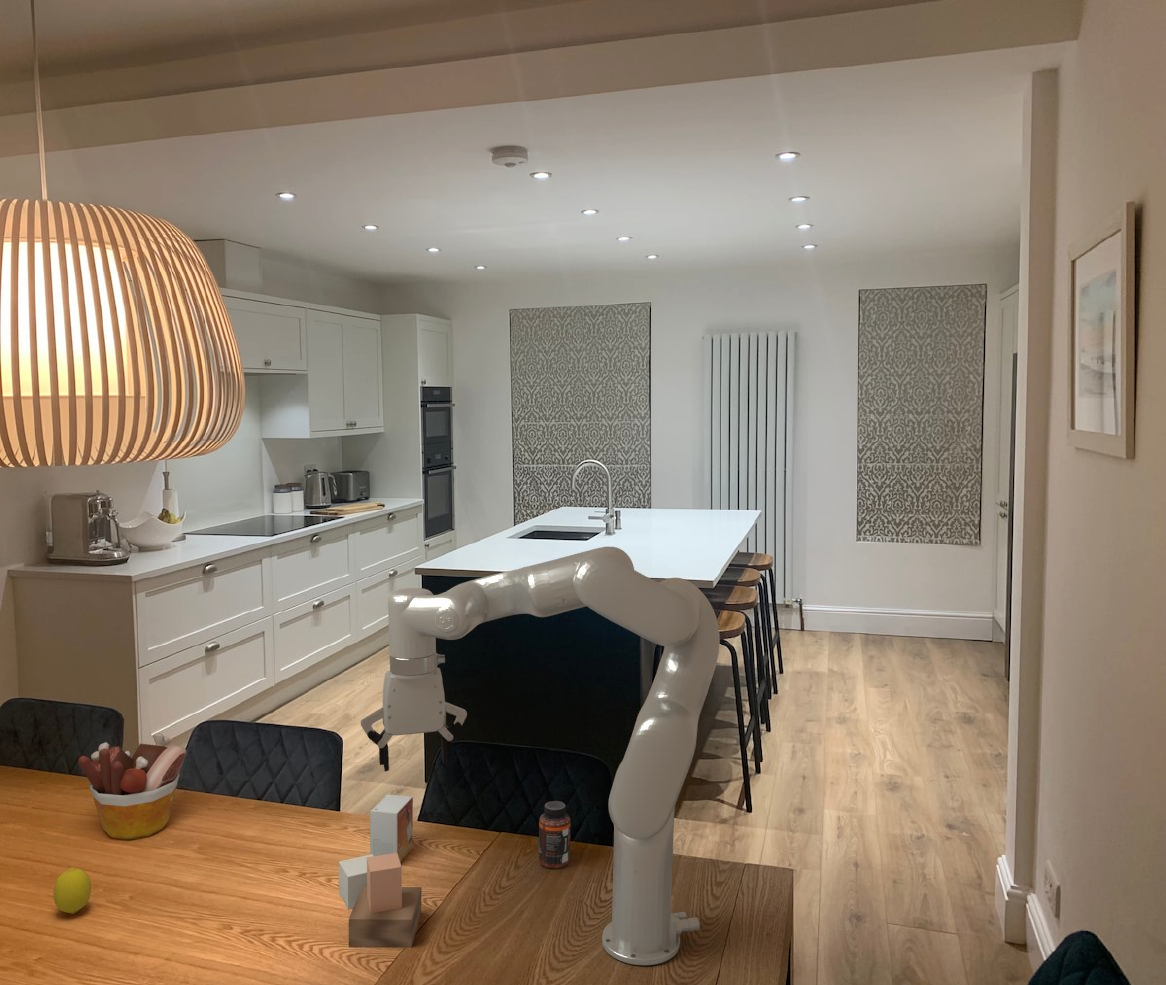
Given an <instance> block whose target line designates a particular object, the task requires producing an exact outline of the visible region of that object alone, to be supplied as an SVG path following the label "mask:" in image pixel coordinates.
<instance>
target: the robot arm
mask: <svg viewBox="0 0 1166 985" xmlns="http://www.w3.org/2000/svg"><path fill="white" fill-rule="evenodd" d="M584 607H587V608H589V609H590V610H592V611H593V612H596V613H597V615H600V616H602V617H604V618H605V619H606V620H607V619H608V620H609V621H610V622H612V623H615V624H616V625H619V626H620V627H623V629H626V630H628V631H630V632H632V633H634V634H636V635H638V636H639V637H641V638H643V639H645V640H647V641H648V642H651V643H653V644H656V645H658V646H663V647H664V648H663V653H662V655H661V657H660V661H659V664H658V667H657V670H656V674H655V677H654V680H653V681H652V685H651V687H650V689H649V691H648V695H647V697H646V700H645V701H644V703H643V705H642V707H641V709H640V710H639V713H638V714H637V717H636V721H635V723H634V727H633V730H632V734H631V737H630V739H629V743H628V745H627V748H626V751H625V753H624V755H623V756H624V757H623V759H622V761H621V762H620V763H619V765H618V768H617V770H616V773H615V776H614V780H613V783H612V786H611V789H610V793H609V798H608V813H609V817H610V819H611V822H612V823H613V826H614V827H613V828H614V831H613V860H612V861H613V864H612V901H611V904H612V905H611V906H612V907H611V910H612V911H611V912H612V913H611V922H609V923H607V925H605V927H604V929H603V931H602V935H601V942H602V946H603V949H604V950H605V951H606V952H607V953H608V954H609V955H610V956H611V957H613V958H614V959H616V960H619V961H620V962H622V963H626V964H629V965H636V966H653V965H659V964H662V963H665V962H667V961H669V960H671V959H672V958H673V957H674V956H676V954H678V953H679V949H680V947H681V938H680V935H682V933H683V932H692V931H693V932H694V931H700V921H699V918H698V917H697V916H695V917H688V918H687V913H686V912H685V911H680V912H675V913H673V912H672V890H673V886H672V885H673V857H674V856H673V854H674V829H675V809H676V804H677V801H678V798H679V797H680V796H679V795H680V793H681V792H682V788H683V785H684V783H685V780H686V777H687V775H688V772H689V769H690V767H691V764H692V762H693V757H694V754H695V750H696V746H697V737H698V736H697V735H698V727H699V725H698V724H699V719H700V715H701V712H702V710H703V706H704V704H705V701H706V698H707V695H708V692H709V689H710V685H711V682H712V679H713V676H714V673H715V670H716V667H717V663H718V659H719V654H720V629H719V622H718V619H717V616H716V613H715V610H714V608H713V606H712V604H711V602H710V601H709V599H708V598H707V597H706V595H705V594H704V593H703V592H702V591H701V589H699V587H698V586H696V585H695V584H693V582H691V581H689V580H687V579H685V578H681V577H670V578H669V577H668V578H666V579H663V580H662V581H660V582H658V581H655V580H654V579H652V578H650V577H648V576H646V575H645V574H643V573H641V572H639V571H638V570H635V567H634V563H633V561H632V559H631V558H630V556H629V555H628V553H627V552H625V550H622V548H619V547H616V546H603V547H596V548H593V549H589V550H585V551H580V552H577V553H575V554H570V555H567V556H563V557H559V558H555V559H551V560H547V561H544V562H540V563H536V564H533V565H528V566H523V567H520V568H517V569H513V570H508V571H503V572H499V573H495V574H491V575H488V576H487V575H486V576H484V577H480V578H475V579H471V580H468V581H466V582H462V583H459V584H456V585H455V586H453V587H451V588H450V589H448V590H446V591H445V592H441V593H439V594H433V592H432V591H430V590H429V589H426V588H421V587H409V588H408V587H407V588H400V589H398V590H394V591H393V592H391V593H390V595H389V596H388V601H387V610H388V611H387V614H388V616H387V617H388V620H387V621H388V644H389V645H388V648H389V650H388V651H389V670H388V671H386V672H385V673H384V677H383V678H384V680H383V688H382V707H381V708H379V709H377V710H375V711H374V712H372V713H370V714H369V715H367V716H365V717H364V718H362V719H361V720H360V727H361V728H362V730H363V731H364V732H365V734H366V735H367V738H368V739H369V740H370V741H371V742H373V743H374V744H375V745H376V746H377V747H378V757H379V758H378V759H379V760H378V761H379V766H383V768H384V769H383V771H384V772H388V771H390V764H389V763H390V759H389V746H388V743H389V741H391V739H392V737H393V736H406V735H414V734H415V735H416V734H425V733H433V732H439V734H440V735H441V738H440V742H441V743H440V745H441V747H440V748H441V750H440V751H441V752H440V753H441V760H442V765H443V764H444V766H446V765H447V766H448V765H449V758H452V741H453V740H454V737H455V735H457V733H458V732H459V731H460V730H461V729H462V726H463V724H464V723H465V720H466V719H467V717H468V716H467V715H468V712H467V711H466V709H464V708H462V707H459V706H457V705H454V704H453V703H452V704H451V703H449V702H447V701H446V700H445V699H446V698H445V691H444V690H445V689H444V684H443V676H442V672H441V668H440V667H438V666H439V665H441V664H445V663H446V658H445V656H446V655H445V654H441V653H439V654H438V652H437V650H436V649H437V647H436V646H437V644H436V642H437V640H436V639H440V640H449V641H452V640H453V641H454V640H459V639H462V638H463V637H465V636H466V635H467V634H469V633H470V632H471V631H473V630H474V629H475V628H476V627H477V626H478V625H480V624H483V623H486V622H490V621H494V620H498V619H501V618H505V617H509V616H514V615H522V614H524V615H525V614H527V615H532V616H535V617H539V618H546V617H550V616H555V615H558V614H562V613H565V612H570V611H572V610H573V611H574V610H577V609H582V608H584ZM447 713H448V714H450V715H453V716H456V717H455V720H454V721H453V722H452V723H451V725H449V726H448V725H447ZM380 720H382V725H383V727H384V728H383V730H382V731H381V732H380V733H379V732H377V731H376V730H375V729H374V727H373V726H372V725H373V724H375V723H377V722H378V721H380Z"/></svg>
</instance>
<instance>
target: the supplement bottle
mask: <svg viewBox="0 0 1166 985" xmlns="http://www.w3.org/2000/svg"><path fill="white" fill-rule="evenodd" d="M566 808H567V807H566V804H565V803H564V802H563V801H558V800H554V801H553V800H552V801H547V802H545V804H544V810H543V811H544V812H543V813H542V814H541V815H540V817H539V821H538V825H539V826H538V830H539V831H538V862H539V864H540V865H541V866H543V867H545V868H546V869H547V868H548V869H561V868H564V867H566V866H567V865H569V863H570V860H571V817H570V816H569V814H567V810H566Z"/></svg>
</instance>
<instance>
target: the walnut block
mask: <svg viewBox="0 0 1166 985" xmlns="http://www.w3.org/2000/svg"><path fill="white" fill-rule="evenodd" d="M421 916H422V886H402V908H400V909H394V910H388V911H382V912H376V913H370V908H369V903H368V899H367V887H364V886H363V887H362V889H361V891H360V894H359V896H358V898H357V901H356V903H355V905H354V908H353V909H351V913H350V915H349V916H348V948H396V949H397V948H399V949H401V948H407V949H409V948H410V949H411V948H412V946H413V943H414V940H415V938H416V934H417V930H418V927H419V922H420V919H421Z"/></svg>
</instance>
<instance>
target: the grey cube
mask: <svg viewBox="0 0 1166 985" xmlns="http://www.w3.org/2000/svg"><path fill="white" fill-rule="evenodd" d="M372 856H373V854H370V853H369V854H367V855H361V856H357V857H353V858H350V859H345V860H340V861H338V894H339V896H340V897H342V898H341V899H342V902H343V901H344V902H343V904H344V903H345V904H344V906H345V905H346V906H345V907H346V910H347V911H349V909H350V910H353V908H354V905H355V903H356V901H357V898H358V896H359V894H360V891H361V889H362V887H363V886H364V887H367V857H372Z"/></svg>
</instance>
